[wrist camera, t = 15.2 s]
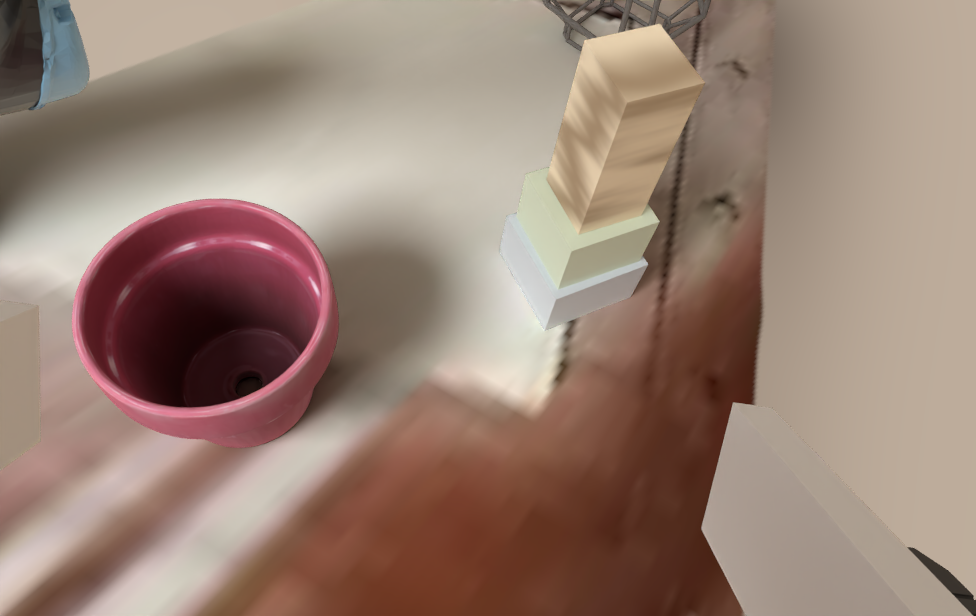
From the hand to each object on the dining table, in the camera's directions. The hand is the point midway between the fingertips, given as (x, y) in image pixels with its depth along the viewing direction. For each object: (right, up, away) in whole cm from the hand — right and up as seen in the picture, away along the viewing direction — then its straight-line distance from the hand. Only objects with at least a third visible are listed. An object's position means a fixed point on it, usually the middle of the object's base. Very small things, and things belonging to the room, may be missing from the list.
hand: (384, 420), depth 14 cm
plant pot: (-15, -4, +38) cm, 41 cm away
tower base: (+8, +5, +45) cm, 46 cm away
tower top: (+9, +7, +41) cm, 43 cm away
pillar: (+9, +10, +37) cm, 39 cm away
